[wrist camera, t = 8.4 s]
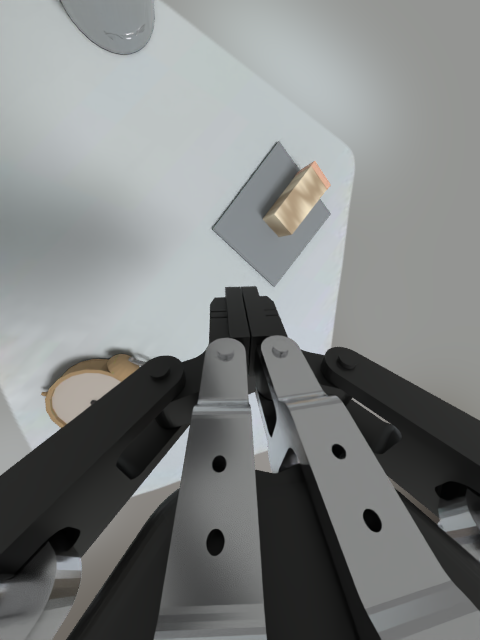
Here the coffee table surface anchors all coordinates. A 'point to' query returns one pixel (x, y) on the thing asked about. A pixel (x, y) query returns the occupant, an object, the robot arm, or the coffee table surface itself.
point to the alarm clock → (86, 385)
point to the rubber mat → (253, 232)
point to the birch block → (297, 200)
